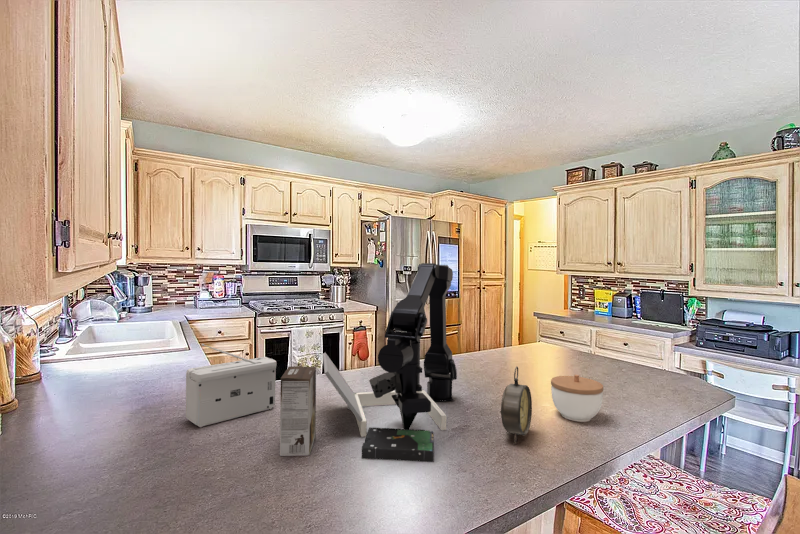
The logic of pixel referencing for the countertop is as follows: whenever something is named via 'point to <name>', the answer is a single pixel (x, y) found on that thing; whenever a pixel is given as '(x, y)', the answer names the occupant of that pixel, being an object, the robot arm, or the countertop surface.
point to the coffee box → (297, 411)
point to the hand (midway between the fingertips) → (406, 429)
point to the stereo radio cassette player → (229, 389)
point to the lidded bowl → (576, 397)
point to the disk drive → (399, 444)
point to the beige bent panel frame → (370, 398)
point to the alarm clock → (516, 408)
